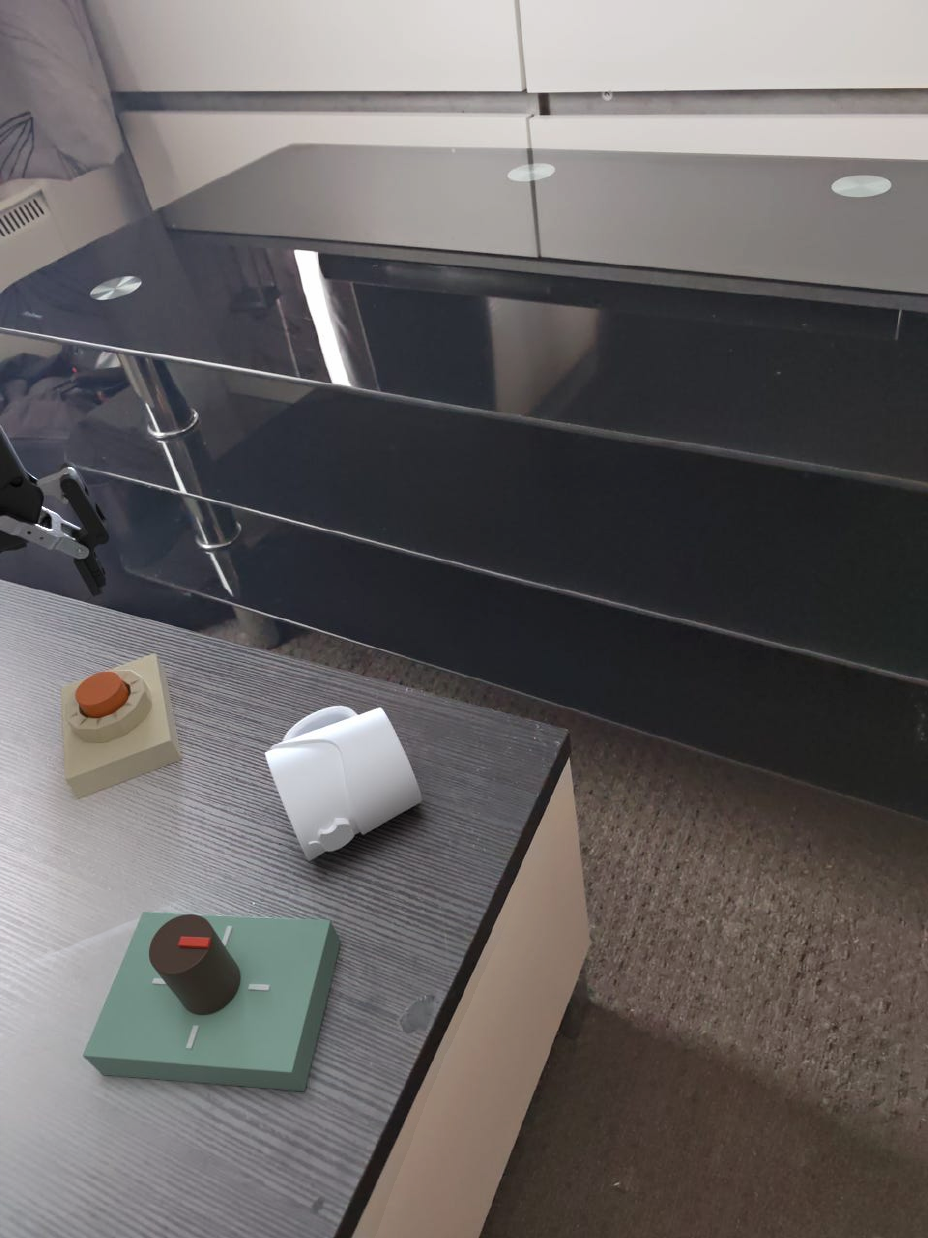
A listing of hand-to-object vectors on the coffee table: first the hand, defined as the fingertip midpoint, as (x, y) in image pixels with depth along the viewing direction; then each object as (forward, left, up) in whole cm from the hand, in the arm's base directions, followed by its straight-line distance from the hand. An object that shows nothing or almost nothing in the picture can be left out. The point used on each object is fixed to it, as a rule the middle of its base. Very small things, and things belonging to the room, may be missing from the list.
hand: (43, 608), depth 71 cm
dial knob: (+17, -23, -13) cm, 32 cm away
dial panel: (+17, -23, -16) cm, 33 cm away
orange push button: (-1, +1, -12) cm, 12 cm away
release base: (-1, +1, -16) cm, 16 cm away
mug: (+22, -6, -16) cm, 28 cm away
